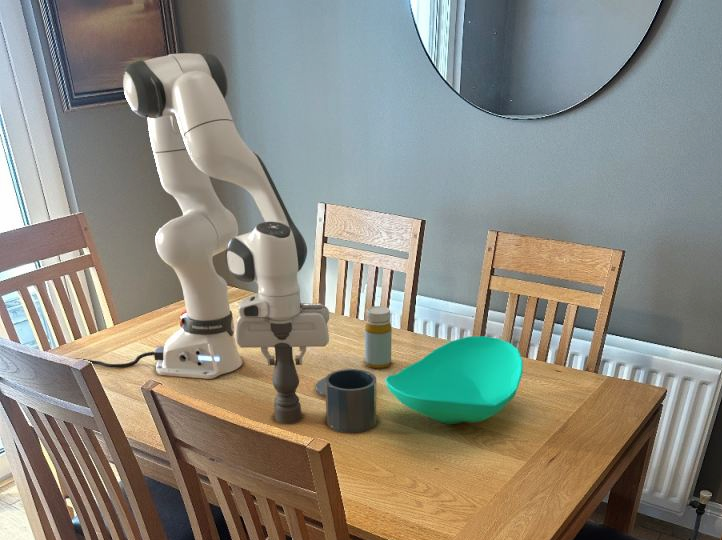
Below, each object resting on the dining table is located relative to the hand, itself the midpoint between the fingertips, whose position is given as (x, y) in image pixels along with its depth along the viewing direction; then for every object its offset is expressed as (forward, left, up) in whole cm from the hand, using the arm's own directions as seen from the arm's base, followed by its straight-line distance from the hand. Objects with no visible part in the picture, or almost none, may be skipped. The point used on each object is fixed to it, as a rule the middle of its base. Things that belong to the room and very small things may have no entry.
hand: (285, 364), depth 164 cm
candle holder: (0, 0, -14) cm, 14 cm away
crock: (+15, -2, -14) cm, 20 cm away
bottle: (+22, +31, -14) cm, 41 cm away
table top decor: (+39, 0, -14) cm, 41 cm away
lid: (+12, +15, -13) cm, 23 cm away
